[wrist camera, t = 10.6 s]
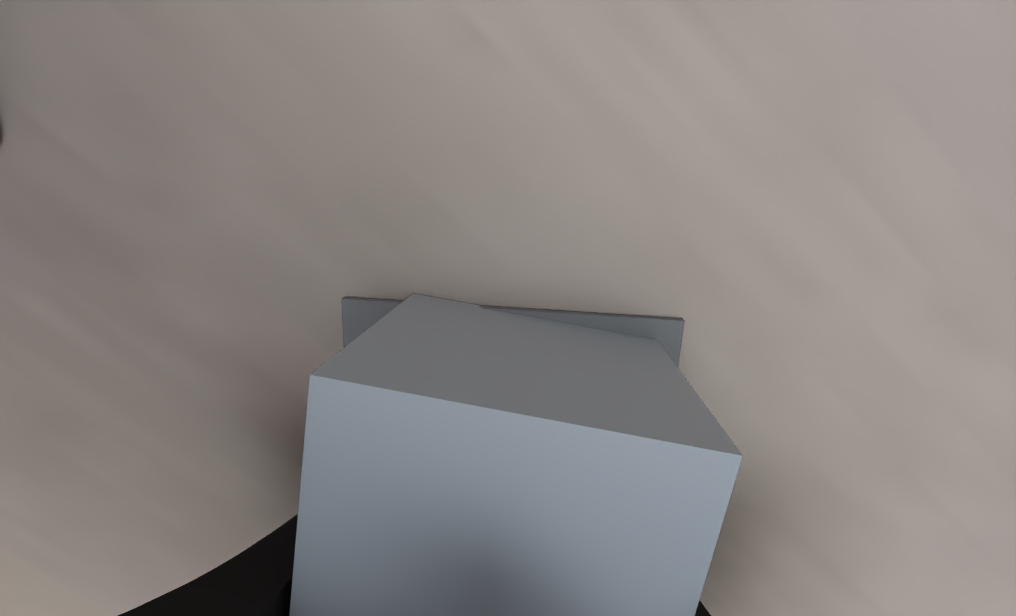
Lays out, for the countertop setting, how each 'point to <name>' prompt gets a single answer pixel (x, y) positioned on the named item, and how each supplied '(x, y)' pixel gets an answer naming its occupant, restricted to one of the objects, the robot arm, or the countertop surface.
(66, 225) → the countertop surface
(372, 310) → the thin grey panel
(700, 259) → the countertop surface
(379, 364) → the pale grey rectangular box
